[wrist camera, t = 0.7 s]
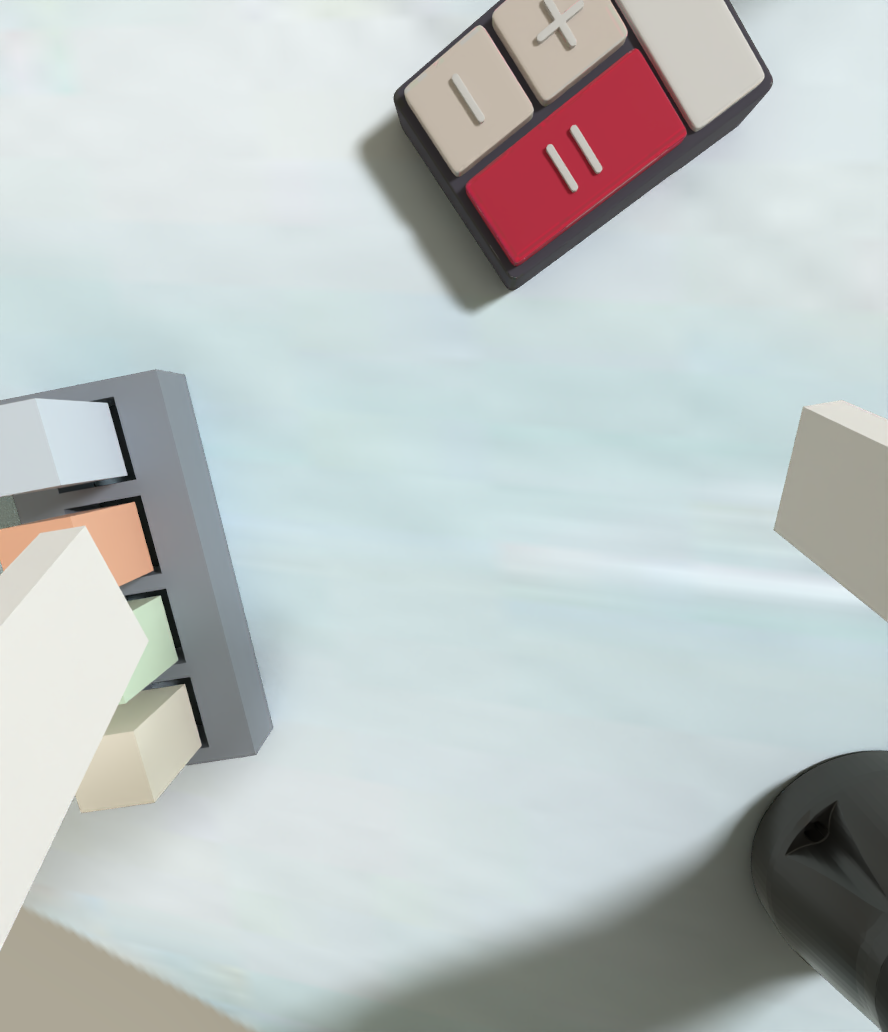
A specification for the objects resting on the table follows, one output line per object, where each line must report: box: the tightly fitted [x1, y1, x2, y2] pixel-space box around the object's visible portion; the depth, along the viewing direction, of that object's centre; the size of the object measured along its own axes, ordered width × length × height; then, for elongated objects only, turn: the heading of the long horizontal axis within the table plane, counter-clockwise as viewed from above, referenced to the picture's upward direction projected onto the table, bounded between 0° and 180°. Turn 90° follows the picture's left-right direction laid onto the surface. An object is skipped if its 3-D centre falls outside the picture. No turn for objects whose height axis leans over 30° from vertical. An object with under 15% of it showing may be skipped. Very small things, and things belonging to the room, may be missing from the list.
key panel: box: [0, 369, 273, 765], centre depth 33 cm, size 23×10×3 cm, turn 10°
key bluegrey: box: [0, 398, 127, 497], centre depth 27 cm, size 4×4×5 cm
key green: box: [118, 595, 178, 705], centre depth 29 cm, size 4×4×5 cm
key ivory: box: [75, 684, 202, 813], centre depth 30 cm, size 4×4×5 cm
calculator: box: [394, 0, 773, 290], centre depth 28 cm, size 11×4×15 cm
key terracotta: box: [0, 502, 153, 586], centre depth 28 cm, size 4×4×5 cm
